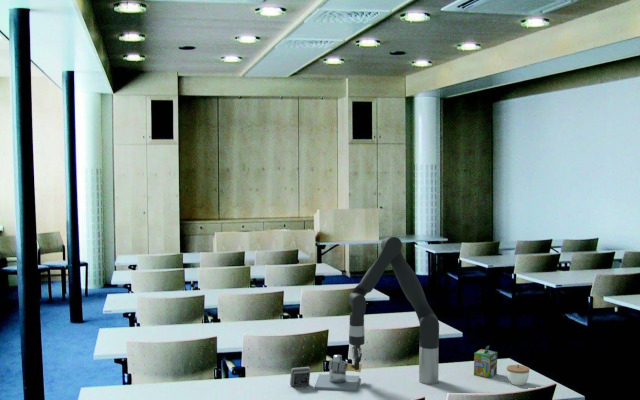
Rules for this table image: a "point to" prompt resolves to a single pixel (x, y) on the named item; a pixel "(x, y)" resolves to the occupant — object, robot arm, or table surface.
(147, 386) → the table surface
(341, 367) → the coupling
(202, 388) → the table surface
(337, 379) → the post
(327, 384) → the base board
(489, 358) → the chalk box
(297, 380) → the electrical switch
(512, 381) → the lidded jar
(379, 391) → the table surface
